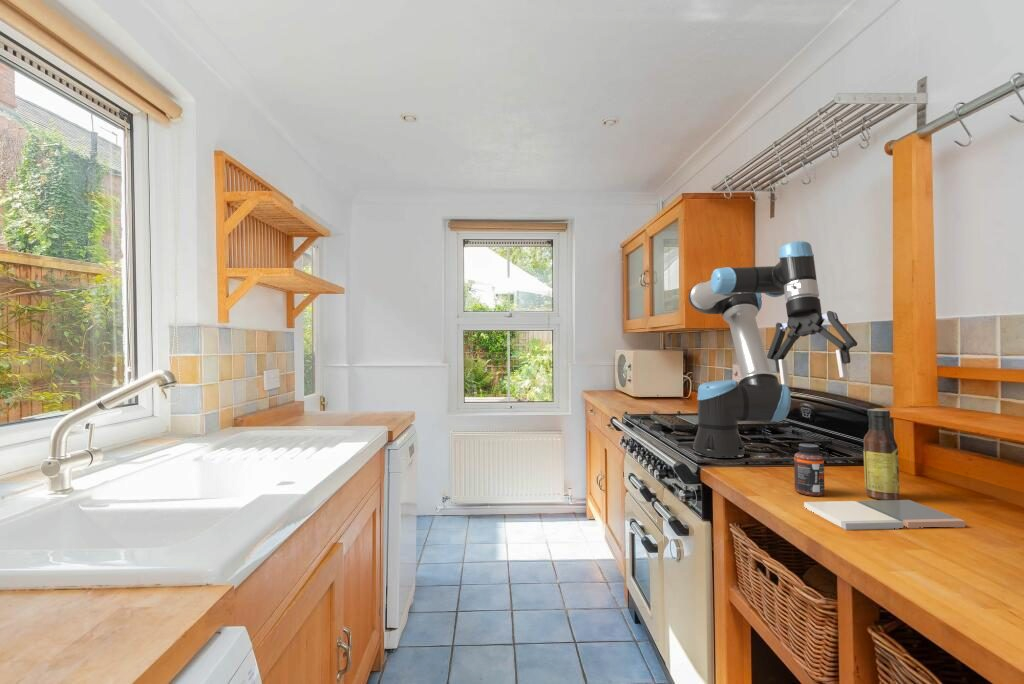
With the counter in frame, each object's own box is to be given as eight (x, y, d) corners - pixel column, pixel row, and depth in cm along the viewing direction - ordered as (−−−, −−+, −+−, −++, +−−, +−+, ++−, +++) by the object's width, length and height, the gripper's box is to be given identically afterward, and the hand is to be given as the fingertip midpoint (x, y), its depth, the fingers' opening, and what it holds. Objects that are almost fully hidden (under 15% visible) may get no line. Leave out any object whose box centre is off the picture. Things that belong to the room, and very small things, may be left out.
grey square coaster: (859, 506, 101) (859, 500, 101) (909, 505, 101) (909, 499, 101) (908, 528, 89) (908, 522, 89) (965, 527, 89) (965, 520, 89)
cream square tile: (804, 507, 101) (804, 501, 101) (854, 506, 101) (854, 500, 101) (845, 529, 88) (845, 523, 88) (903, 528, 89) (902, 522, 89)
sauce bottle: (906, 502, 103) (904, 412, 103) (874, 501, 104) (872, 411, 104) (889, 493, 109) (887, 408, 109) (858, 492, 110) (857, 407, 111)
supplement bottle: (825, 498, 106) (824, 448, 106) (795, 494, 109) (794, 446, 109) (823, 491, 111) (822, 443, 112) (794, 487, 114) (793, 441, 114)
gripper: (747, 309, 130) (756, 385, 124) (849, 282, 109) (864, 372, 104) (763, 314, 133) (772, 388, 128) (864, 288, 113) (879, 376, 108)
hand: (813, 381), depth 116 cm, fingers open, 13 cm apart
